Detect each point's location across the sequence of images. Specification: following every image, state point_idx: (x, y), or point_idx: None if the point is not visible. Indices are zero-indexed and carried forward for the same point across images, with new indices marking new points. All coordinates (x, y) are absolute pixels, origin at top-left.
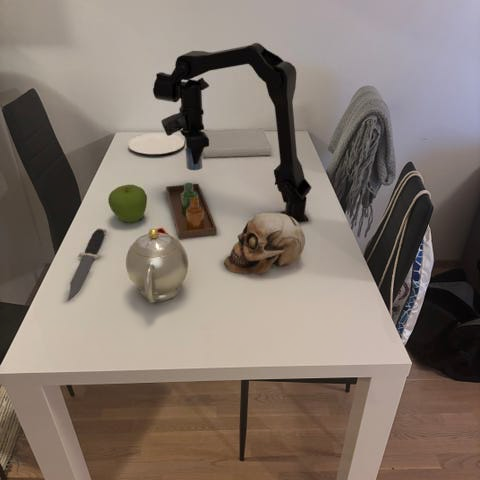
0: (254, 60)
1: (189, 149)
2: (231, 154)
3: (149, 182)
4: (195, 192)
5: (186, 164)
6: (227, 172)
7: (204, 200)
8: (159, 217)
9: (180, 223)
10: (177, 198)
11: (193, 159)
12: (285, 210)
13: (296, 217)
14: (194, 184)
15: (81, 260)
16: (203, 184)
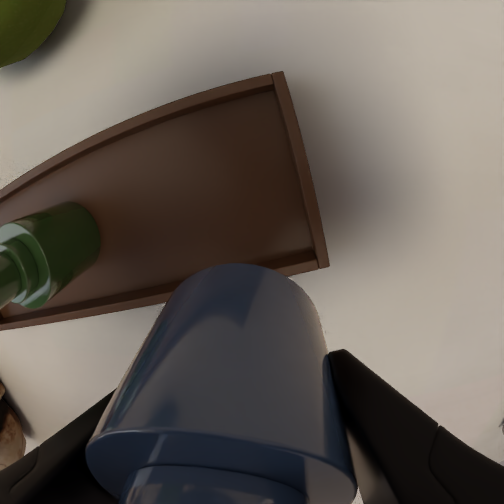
0: None
1: (130, 477)
2: None
3: (395, 2)
4: (43, 299)
5: (200, 283)
6: (463, 352)
7: (128, 306)
8: (45, 111)
9: (6, 210)
10: (190, 151)
11: (93, 412)
12: None
13: None
14: (317, 244)
15: None
16: (382, 272)
